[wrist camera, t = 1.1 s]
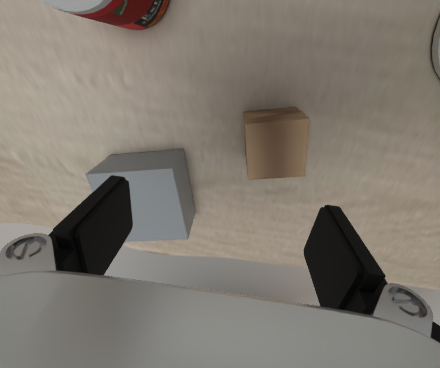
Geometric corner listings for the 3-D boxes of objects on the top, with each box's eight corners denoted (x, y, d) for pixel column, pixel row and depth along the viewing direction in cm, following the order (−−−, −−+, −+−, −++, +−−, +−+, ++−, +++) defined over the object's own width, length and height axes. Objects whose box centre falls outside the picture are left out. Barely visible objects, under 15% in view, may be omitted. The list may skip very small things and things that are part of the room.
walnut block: (295, 106, 27) (309, 118, 21) (292, 155, 29) (305, 176, 24) (243, 111, 27) (245, 124, 22) (246, 158, 30) (248, 179, 25)
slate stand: (183, 149, 30) (172, 168, 25) (195, 211, 35) (188, 239, 29) (111, 154, 31) (85, 174, 26) (132, 214, 36) (114, 242, 30)
